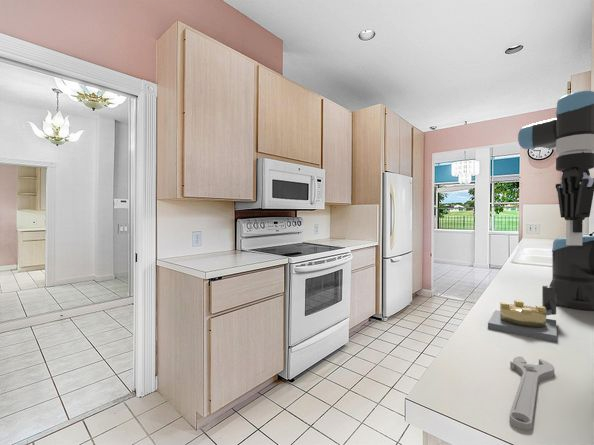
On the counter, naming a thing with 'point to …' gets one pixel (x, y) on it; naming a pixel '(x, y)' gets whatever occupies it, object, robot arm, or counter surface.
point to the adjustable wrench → (527, 390)
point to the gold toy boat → (530, 310)
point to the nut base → (524, 328)
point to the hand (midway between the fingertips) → (574, 245)
